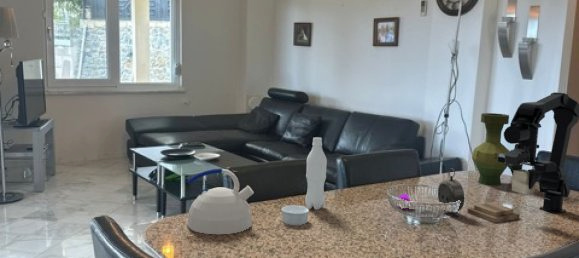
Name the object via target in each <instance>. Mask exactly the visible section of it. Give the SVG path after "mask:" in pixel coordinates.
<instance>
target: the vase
mask: <svg viewBox="0 0 579 258" xmlns="http://www.w3.org/2000/svg"><path fill="white" fill-rule="evenodd" d="M480 115H481V116H480V123H483V124H484V126H485V141H484V142H482V143H481V144H479V145H477V146H476V147H474V149H473V150H472V151H473V152H472V155H471V159H472V161H473V163H474V165H475V167H476V170H477V171H478V173H479V178H478V181H477V183H478V184H481V185H485V186H492V187H493V186H494V187H495V186H496V187H498V186H501V184H502V183H501V176H502V175H503V173H504V172H505V171H506V169H507V168H508V166H506V165H505V164H506V162H505V163H502V162H498V161H497V159H498V155H499V154H500V153H507V152H509V151H510V150H509V149H508V148H507V147H506V146H505V145H504V144H503V143H501V140H502V132H503V128H504V126H505V125H509V121H510V115H509V114H505V113H504V114H503V113H495V112H493V113H492V112H491V113H489V112H483V113H481V114H480Z"/></svg>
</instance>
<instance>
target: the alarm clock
mask: <svg viewBox="0 0 579 258" xmlns="http://www.w3.org/2000/svg"><path fill="white" fill-rule="evenodd" d="M451 170H452V171H453V176H452V175H450V174H451V173H450V172H451ZM455 174H456V171H455V168H452V167H451V168H449V170H448V176H449V179H447V180H446V179H445V180H442V181H441V182H440V183H439V185H438V188H437V199H438V202H443V203H449V202H456V201H458V200H460V201H461V203H460V206H459V209H458V211H457V212H456V213H455V215H456V217H457V218H459V213H458V212H459V211H461V210H462V209H463V206H464V205H465V191H464V188H463V186H462V184H461V183H460V182H459V181H458V180H457V179H453V178H454V177H455V176H456V175H455Z"/></svg>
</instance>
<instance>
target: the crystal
mask: <svg viewBox="0 0 579 258" xmlns="http://www.w3.org/2000/svg"><path fill="white" fill-rule="evenodd" d="M398 197H399V198H401V199H404V200H407V201H412V200H411V198H410V196H409V195H408V193H407V192H406V193H404V194H401V195H399V196H398Z"/></svg>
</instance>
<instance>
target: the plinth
mask: <svg viewBox="0 0 579 258" xmlns="http://www.w3.org/2000/svg"><path fill="white" fill-rule="evenodd" d="M467 214H470V215H472V216H475V217H477V218H480V219H484V220H486V221H488V222H491V223H494V224H497V223H502V222H508V221H513V220H519V219H520V216H521V215H520V213H517V212H514V209H513V208H511V207H507V206H504V205H501V204H498V203H495V202H489V203H488V202H487V203H481V204H475V205H474V207H472V208H471V207H470V208H467Z"/></svg>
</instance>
